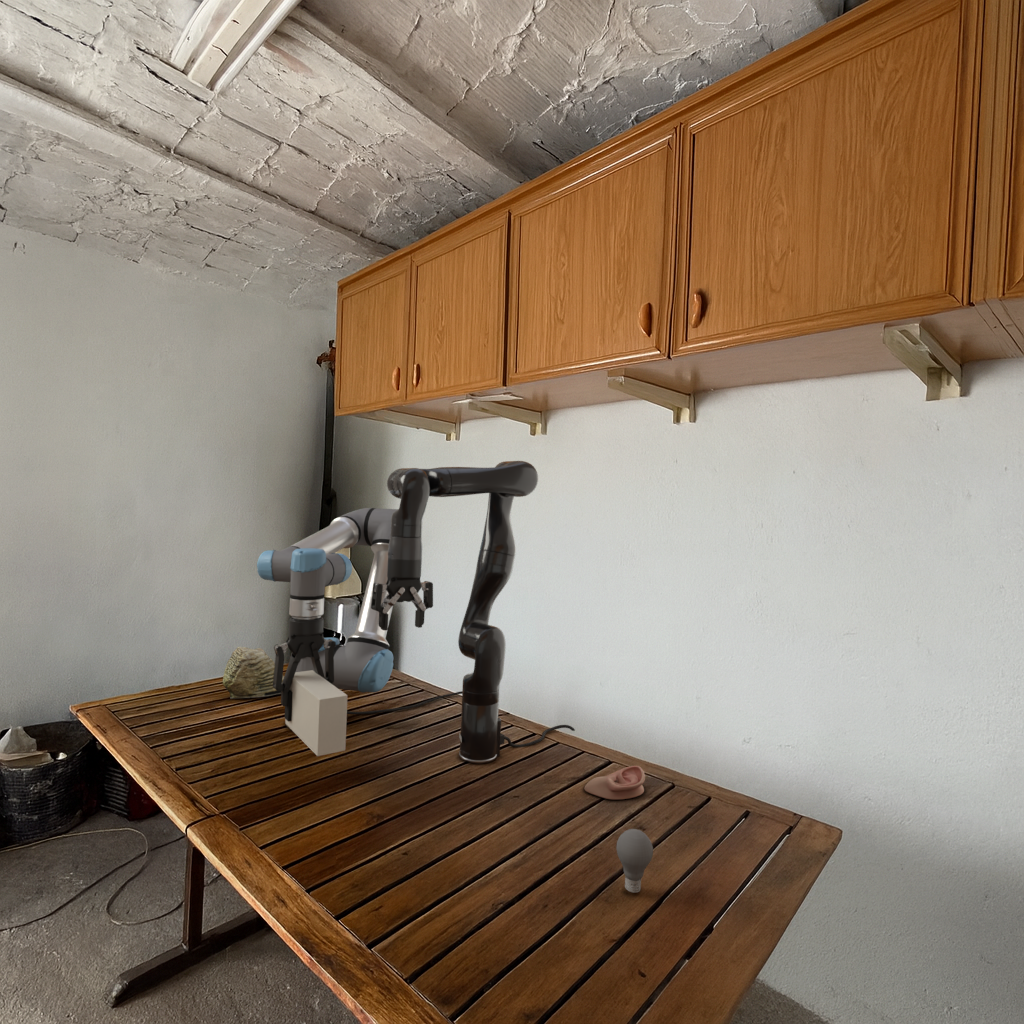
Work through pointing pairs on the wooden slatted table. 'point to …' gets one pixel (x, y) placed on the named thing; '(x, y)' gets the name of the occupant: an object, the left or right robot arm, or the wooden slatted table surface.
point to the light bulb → (634, 857)
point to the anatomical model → (618, 784)
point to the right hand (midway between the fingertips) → (401, 628)
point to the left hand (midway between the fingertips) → (302, 716)
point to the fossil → (249, 674)
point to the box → (318, 713)
